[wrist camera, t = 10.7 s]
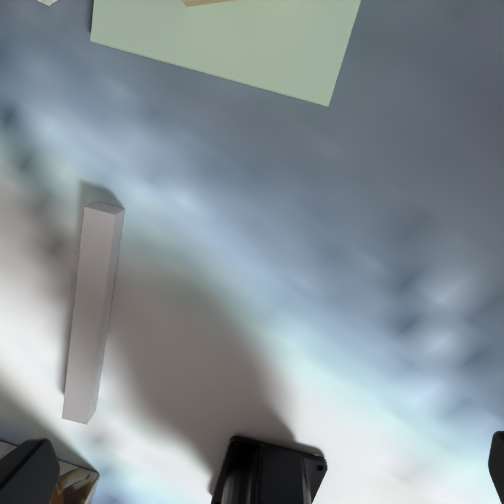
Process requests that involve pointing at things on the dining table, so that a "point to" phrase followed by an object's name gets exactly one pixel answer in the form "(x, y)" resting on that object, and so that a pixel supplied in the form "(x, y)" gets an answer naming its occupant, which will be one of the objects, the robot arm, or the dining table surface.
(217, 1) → the block
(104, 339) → the rod
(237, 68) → the mat
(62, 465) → the coffee box
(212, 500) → the robot arm
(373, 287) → the dining table surface
